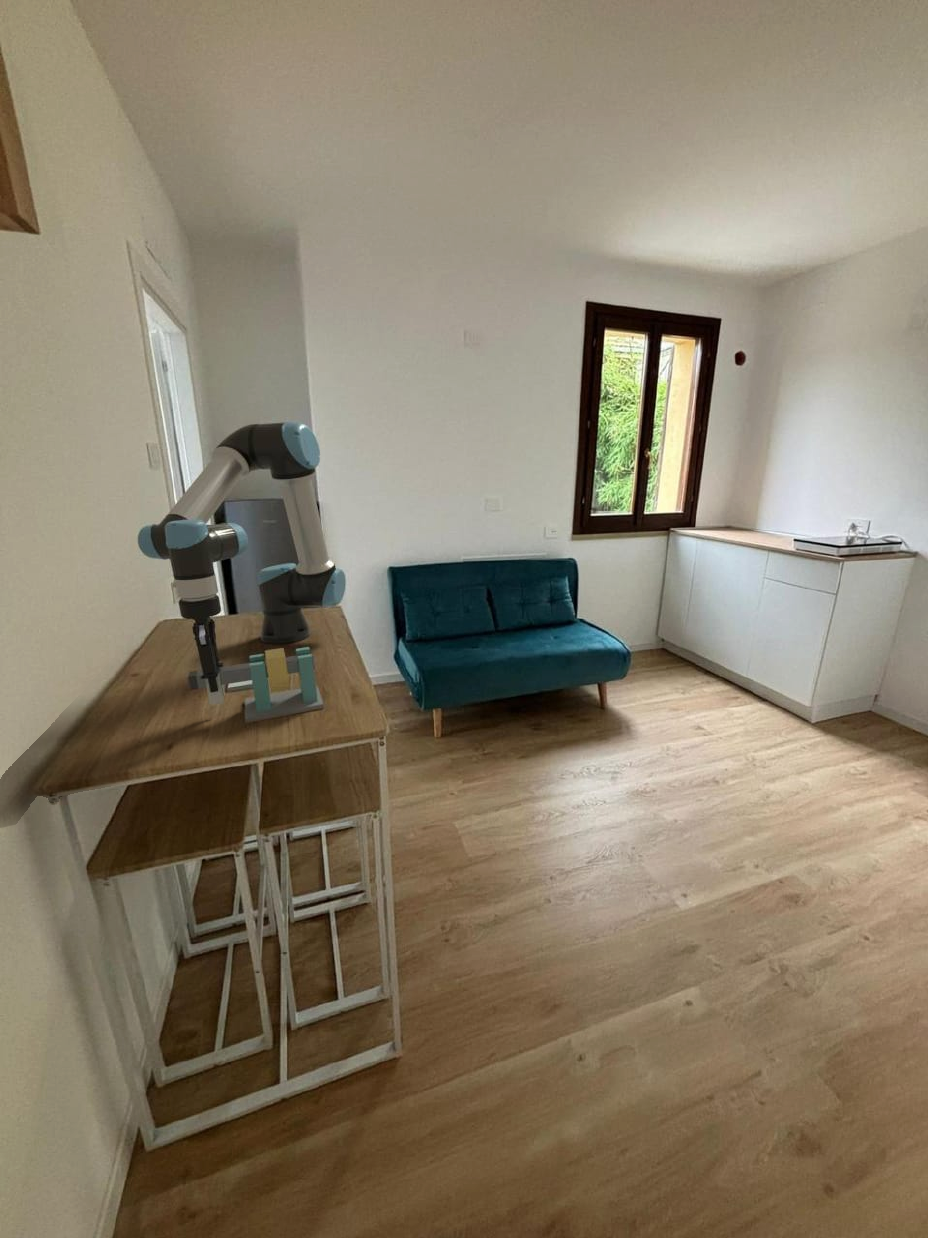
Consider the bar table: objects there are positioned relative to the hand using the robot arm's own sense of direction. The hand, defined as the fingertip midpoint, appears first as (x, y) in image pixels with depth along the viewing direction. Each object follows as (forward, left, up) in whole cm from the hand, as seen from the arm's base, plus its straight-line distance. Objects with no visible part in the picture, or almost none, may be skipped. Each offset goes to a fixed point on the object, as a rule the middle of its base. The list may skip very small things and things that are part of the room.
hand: (217, 700), depth 112 cm
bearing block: (0, +13, -4) cm, 14 cm away
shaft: (0, +8, +4) cm, 9 cm away
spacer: (0, +13, +1) cm, 13 cm away
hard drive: (-20, +5, -5) cm, 21 cm away
